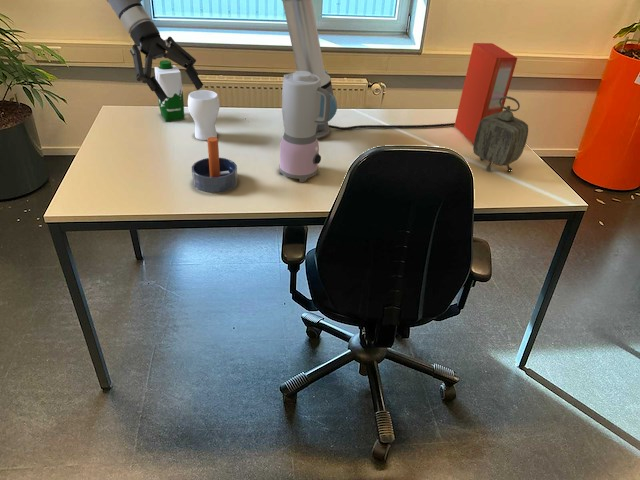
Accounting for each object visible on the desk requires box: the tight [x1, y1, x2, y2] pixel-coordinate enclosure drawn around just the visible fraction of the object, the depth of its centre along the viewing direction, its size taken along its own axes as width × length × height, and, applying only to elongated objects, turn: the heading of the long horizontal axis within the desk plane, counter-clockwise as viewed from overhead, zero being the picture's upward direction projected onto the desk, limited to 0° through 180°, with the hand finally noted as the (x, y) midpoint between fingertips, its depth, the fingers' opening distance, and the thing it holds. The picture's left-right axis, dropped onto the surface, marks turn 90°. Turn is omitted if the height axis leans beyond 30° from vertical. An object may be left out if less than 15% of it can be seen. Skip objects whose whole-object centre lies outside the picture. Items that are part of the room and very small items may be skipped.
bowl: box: [191, 157, 239, 194], centre depth 158 cm, size 13×13×6 cm
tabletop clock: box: [472, 95, 529, 173], centre depth 171 cm, size 14×9×25 cm, turn 44°
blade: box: [206, 137, 230, 177], centre depth 155 cm, size 9×4×14 cm, turn 113°
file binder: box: [453, 42, 518, 145], centre depth 191 cm, size 8×17×32 cm, turn 13°
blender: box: [278, 70, 330, 183], centre depth 158 cm, size 16×12×32 cm
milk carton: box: [154, 59, 185, 122], centre depth 192 cm, size 9×9×20 cm
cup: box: [187, 89, 221, 141], centre depth 182 cm, size 11×11×15 cm
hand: (183, 93), depth 149 cm, fingers open, 13 cm apart
